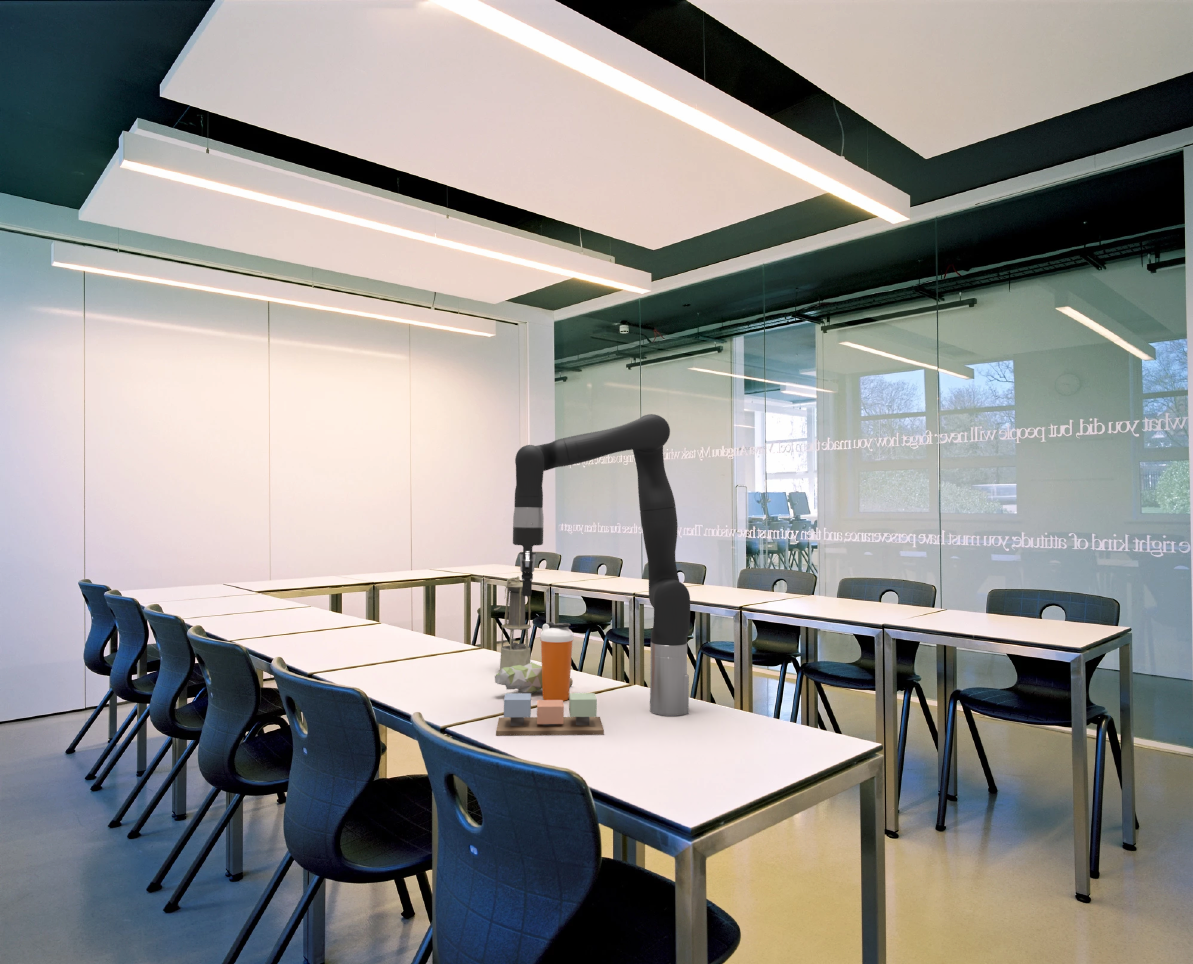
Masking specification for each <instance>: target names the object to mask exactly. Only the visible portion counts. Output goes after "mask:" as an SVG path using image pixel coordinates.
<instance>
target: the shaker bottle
mask: <svg viewBox="0 0 1193 964" xmlns="http://www.w3.org/2000/svg"><path fill="white" fill-rule="evenodd" d="M570 626H571V624H570V623H567V622H558V623H555V622H553V621H550V622H546V623H544V624H543V625H542V628H541V629H542V631H541V632H540V637H539V638H540V639H539V640H540V646H541V647H540V648H541V649H540V650H541V651H540V652H541V653H540V654H541V666H542V689H541V690H542V700H563V702H564V701H568V700H569V693H570V689H571V688H570V678H571V669H572V668H571V667H572V655H573V654H572V653H573V652H572V651H573V642H574V633H573V631H572V630H571V629H570V628H569V627H570Z"/></svg>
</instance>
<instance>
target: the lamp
mask: <svg viewBox="0 0 1193 964" xmlns="http://www.w3.org/2000/svg"><path fill="white" fill-rule="evenodd" d="M520 579H521V577H520V576H517V577H511V578H510V577H509V578H508V579H507V580H506V584H504V587H505V588H504V600H505V599H506V601H505V614H504V624H501V629H502V632H501V639H500V640H501V646H500V659H499V670H498V672H497V674H498V673H499V671H500V670H501V669H502V668H505V667H511V666H516V665H521V666H525V665H527V664H529V663H531V647H530V646H529V629H530V628H532V625H531V613H532V611H531V596H527V597H528V598H527V600H528V604H527V605H528V606H527V609H528V624H526V596H523V595H522V592H523V581H520ZM494 596H495V595H494ZM501 607H502V605H501V606H499V607H496V608H494V609H493V611H497V610H499V609H500V608H501ZM503 629H506V630H509V645H504V630H503ZM515 630H516V631H517V630H518V631H519V630H520V631H522V630H525V633H524V635H525V643H518V642H514V632H515Z"/></svg>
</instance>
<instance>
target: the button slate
mask: <svg viewBox="0 0 1193 964" xmlns="http://www.w3.org/2000/svg"><path fill="white" fill-rule="evenodd" d="M503 699H504V700H503V717H532V716H531V712H532V709H531V707H532V694H531V693H519V692H517V693H510V692H509V693H504V698H503Z"/></svg>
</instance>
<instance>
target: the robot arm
mask: <svg viewBox="0 0 1193 964" xmlns="http://www.w3.org/2000/svg"><path fill="white" fill-rule="evenodd" d="M670 435H671V429H670V425H669V423H668V422H667V420H666V419H665V418H664V417H662V416H660V415H659V414H653V413H649V414H644V415H642V416H641V417H639V418H638V419H635V420H632V421H630V422H628V423H625V424H622V425H619V426H615V427H611V428H607V429H603V430H598V431H593V432H592V431H591V432H587V433H582V434H576V435H573V436H572V435H571V436H568V437H563V438H558V439H556V440H554V441H553V440H552V442H549V443H544V444H543V443H542V444H538V445H534V444H526V445H524V446H522V447H520V448H519V449H518V451H517V452H516V454H515V458H514V460H515V461H514V463H515V482H516V483H515V488H514V489H515V490H514V511H513V514H512V515H513V519H512V522H513V523H512V544H513V545H514V546H522V551H521V552H519V561H520V569H519V570H520V572H521V582H523V592H522V595H523V596H525V597H528V596H530V597H531V596H532V590H533V589H532V588H533V587H532V585H533V584H532V583H533V579H534V576H533V575H534V574H533V572H534V571H535V560H536V559H537V558H536V556H537V555H536V552H533V547H534V546H542V545H544V510H543V506H544V492H543V491H544V490H543V484H544V483H543V482H544V481H543V480H544V472H545V471H549V470H552V469H555V468H560V467H561V468H562V467H569V466H572V465H576V464H581V463H585V462H588V461H592V460H595V459H599V458H602V457H605V456H608V455H611V454H615V453H616V454H617V453H620V452H625V451H632V453H633V457H634V462H635V466H636V471H637V489H638V490H637V491H638V492H637V493H638V503H639V504H638V507H639V515H640V523H641V529H642V534H643V535H642V536H643V542H644V546H645V552H646V558H647V565H648V566H647V567H648V568H647V570H648V571H647V572H648V598H649V599H648V600H649V603H650V605H651V607H652V608H653V624H652V625H653V626H652V629H651V632H650V665H649V666H650V668H649V669H650V673H649V674H650V680H649V684H650V685H649V712H650V713H652V714H655V715H660V716H667V717H672V716H673V717H676V716H682V715H689V713H690V712H689V709H690V707H689V703H690V699H689V698H690V695H689V694H690V691H689V690H690V688H689V687H690V683H689V682H690V679H689V677H690V676H689V674H688V636H689V633H690V629H691V628H690V626H691V625H690V623H691V595H690V592H689V589H688V587H687V586H686V585H685V584H684V583H682V582H681V581H680V578H679V574H678V567H677V561H676V551H677V550H676V549H677V541H678V540H677V539H678V530H679V528H678V526H679V525H678V515H677V508H676V499H675V498H674V493H673V490H672V487H671V485H670V482H669V479H668V476H667V472H666V469H665V461H664V445H666V444H667V442H668V440H669V438H670Z"/></svg>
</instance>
